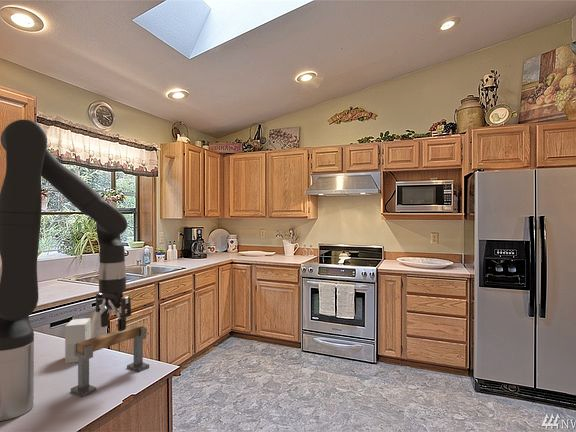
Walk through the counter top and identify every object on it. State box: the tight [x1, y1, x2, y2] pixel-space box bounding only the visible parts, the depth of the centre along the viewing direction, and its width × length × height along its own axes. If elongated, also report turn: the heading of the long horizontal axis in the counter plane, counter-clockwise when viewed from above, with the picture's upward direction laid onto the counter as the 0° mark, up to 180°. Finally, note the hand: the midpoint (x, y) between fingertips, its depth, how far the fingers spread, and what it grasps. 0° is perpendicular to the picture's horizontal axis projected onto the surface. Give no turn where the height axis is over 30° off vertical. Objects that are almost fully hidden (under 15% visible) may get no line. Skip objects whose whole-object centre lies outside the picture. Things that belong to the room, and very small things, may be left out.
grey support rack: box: [70, 326, 150, 398], centre depth 107 cm, size 22×6×14 cm, turn 151°
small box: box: [64, 317, 92, 364], centre depth 123 cm, size 8×6×13 cm
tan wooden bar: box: [77, 323, 145, 355], centre depth 107 cm, size 20×3×3 cm, turn 151°
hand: (113, 328), depth 107 cm, fingers open, 8 cm apart
